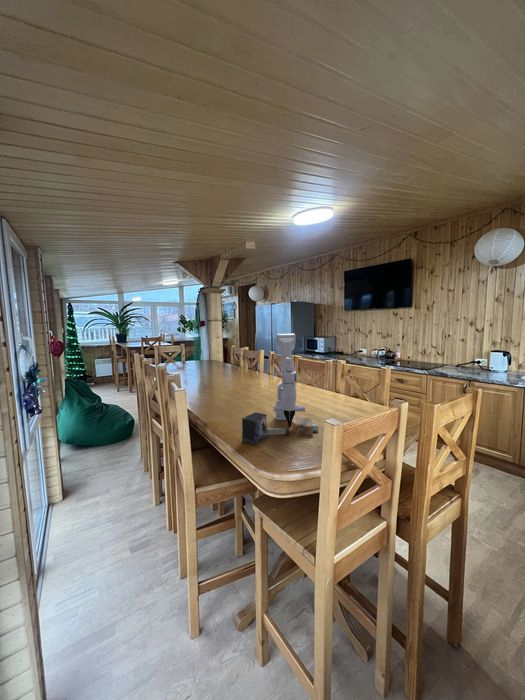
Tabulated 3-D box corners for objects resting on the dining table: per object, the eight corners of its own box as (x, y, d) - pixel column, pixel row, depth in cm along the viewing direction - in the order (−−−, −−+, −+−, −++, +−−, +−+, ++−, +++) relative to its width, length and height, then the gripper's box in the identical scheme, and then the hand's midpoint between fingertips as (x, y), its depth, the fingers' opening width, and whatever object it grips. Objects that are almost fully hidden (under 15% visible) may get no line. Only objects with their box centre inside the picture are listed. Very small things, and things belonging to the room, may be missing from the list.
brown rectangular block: (292, 432, 140) (292, 423, 139) (292, 428, 146) (292, 419, 145) (318, 433, 139) (318, 424, 138) (317, 428, 144) (317, 419, 144)
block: (296, 435, 137) (296, 426, 136) (296, 425, 149) (296, 417, 148) (312, 435, 136) (312, 426, 136) (311, 426, 148) (311, 417, 147)
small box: (254, 445, 126) (253, 420, 125) (241, 442, 130) (240, 418, 129) (267, 437, 135) (267, 413, 134) (255, 434, 139) (254, 411, 138)
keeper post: (285, 435, 136) (285, 427, 136) (285, 434, 138) (285, 426, 138) (289, 435, 136) (289, 427, 136) (289, 434, 138) (289, 426, 137)
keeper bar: (266, 433, 137) (266, 429, 137) (266, 432, 138) (266, 428, 138) (285, 433, 136) (285, 429, 136) (285, 432, 138) (285, 428, 137)
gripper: (273, 399, 138) (273, 429, 140) (305, 400, 137) (305, 429, 138) (274, 396, 145) (274, 424, 147) (305, 396, 144) (305, 424, 145)
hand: (289, 426), depth 143 cm, fingers closed
